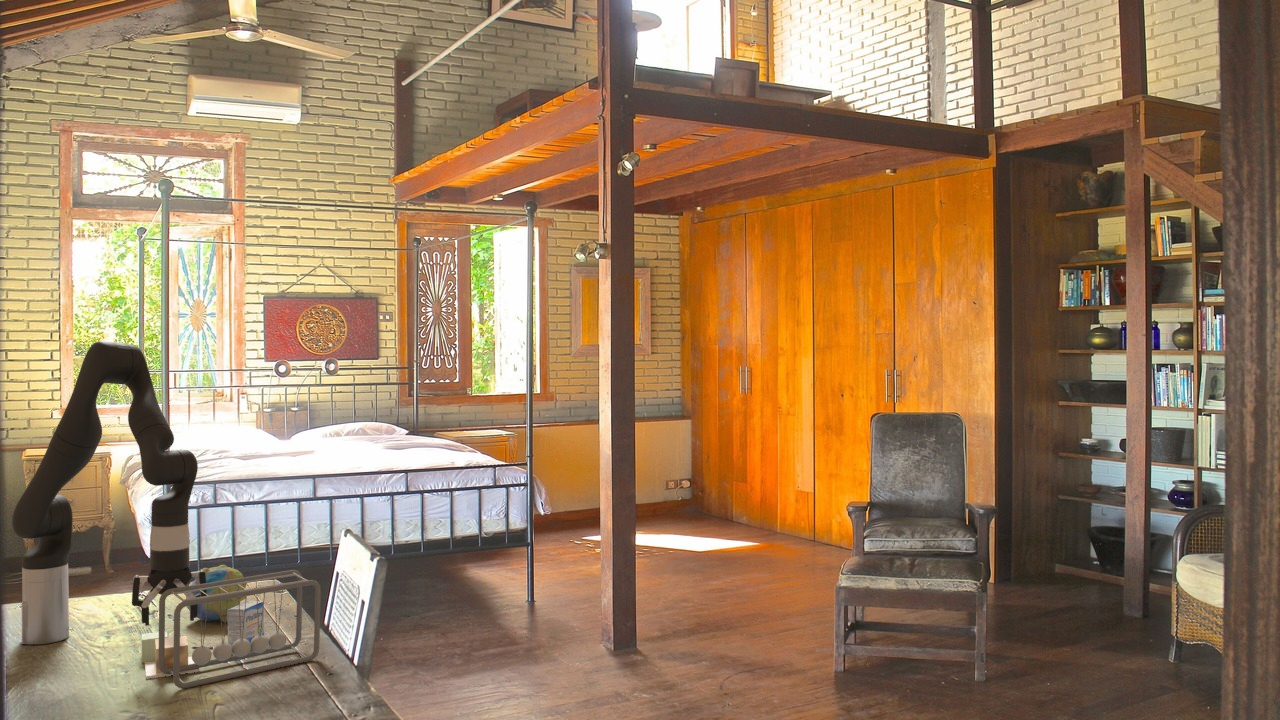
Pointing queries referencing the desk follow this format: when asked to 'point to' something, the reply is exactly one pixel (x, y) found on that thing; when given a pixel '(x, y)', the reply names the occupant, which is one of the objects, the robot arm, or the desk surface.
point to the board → (151, 673)
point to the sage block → (149, 646)
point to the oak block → (172, 652)
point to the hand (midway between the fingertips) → (169, 622)
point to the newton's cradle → (241, 645)
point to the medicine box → (245, 621)
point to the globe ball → (214, 607)
